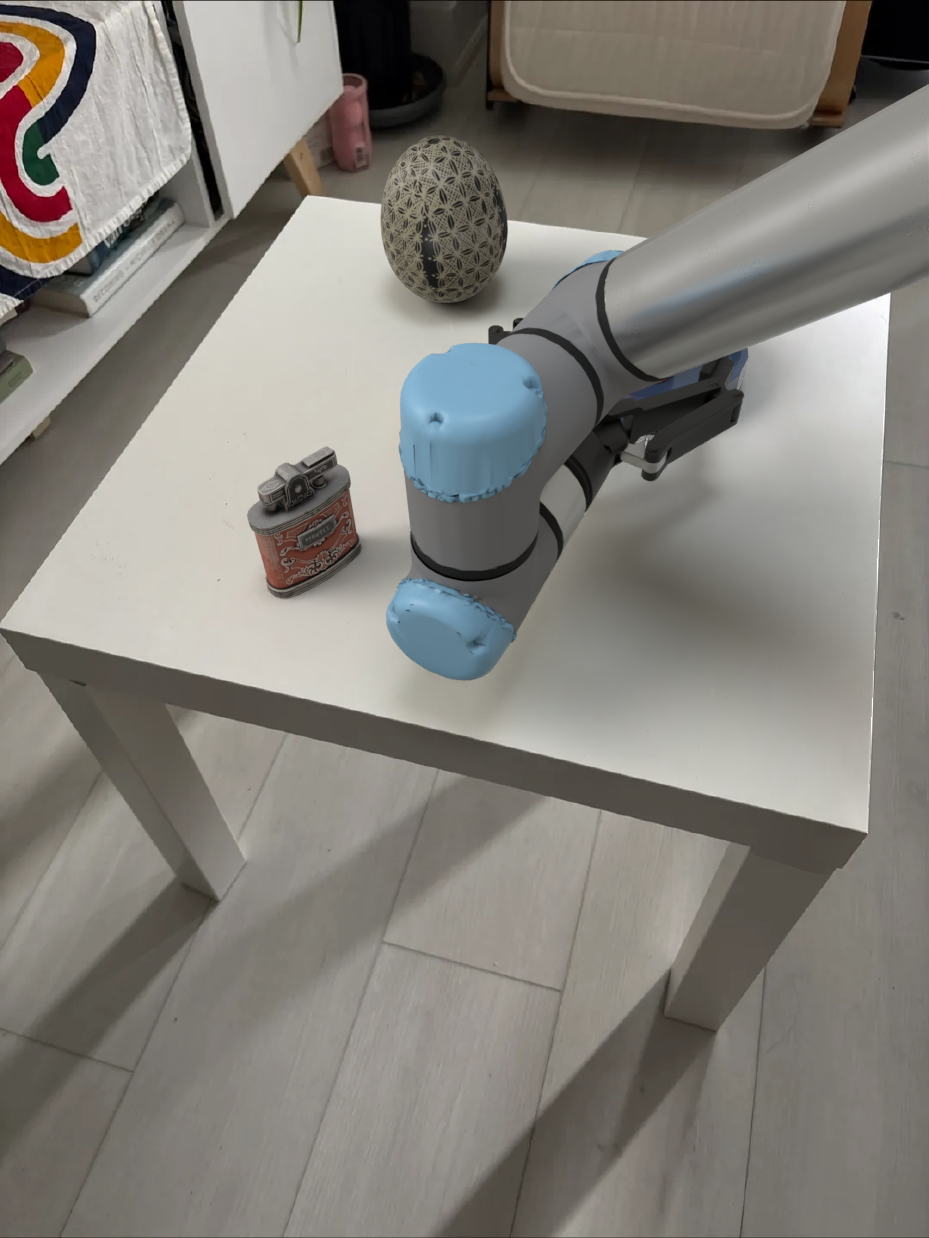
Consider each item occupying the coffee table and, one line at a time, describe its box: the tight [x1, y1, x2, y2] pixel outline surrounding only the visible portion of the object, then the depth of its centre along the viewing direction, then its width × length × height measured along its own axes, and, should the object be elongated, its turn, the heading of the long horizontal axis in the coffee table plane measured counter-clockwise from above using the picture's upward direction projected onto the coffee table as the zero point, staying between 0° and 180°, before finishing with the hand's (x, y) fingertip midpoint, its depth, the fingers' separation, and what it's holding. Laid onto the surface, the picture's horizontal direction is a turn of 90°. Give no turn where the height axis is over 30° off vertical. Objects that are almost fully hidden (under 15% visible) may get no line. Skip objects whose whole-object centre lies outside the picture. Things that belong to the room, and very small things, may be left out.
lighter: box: [246, 446, 363, 600], centre depth 69 cm, size 8×3×10 cm, turn 131°
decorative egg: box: [380, 134, 509, 304], centre depth 89 cm, size 12×12×15 cm
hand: (645, 318), depth 78 cm, fingers open, 13 cm apart
